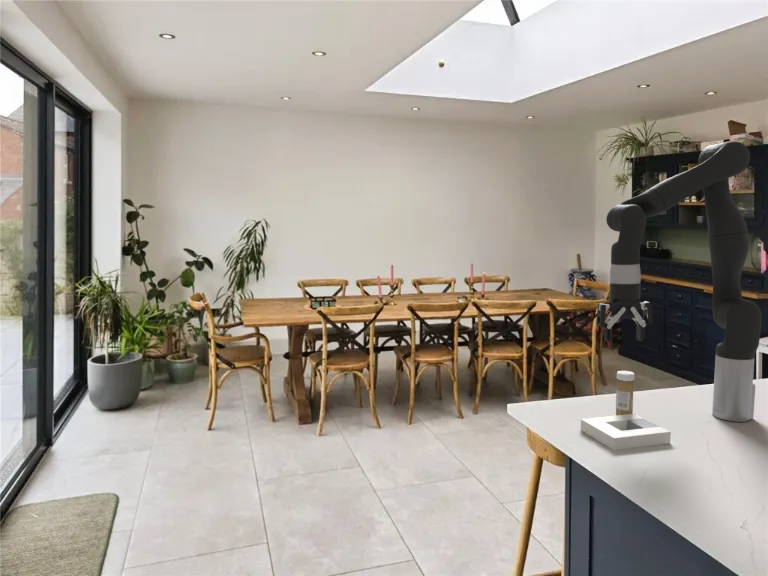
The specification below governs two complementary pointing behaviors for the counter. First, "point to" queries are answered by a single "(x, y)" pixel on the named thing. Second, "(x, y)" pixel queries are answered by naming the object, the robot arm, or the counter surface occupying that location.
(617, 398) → the sprinkles bottle
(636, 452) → the counter surface
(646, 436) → the housing
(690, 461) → the counter surface
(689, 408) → the counter surface
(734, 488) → the counter surface
